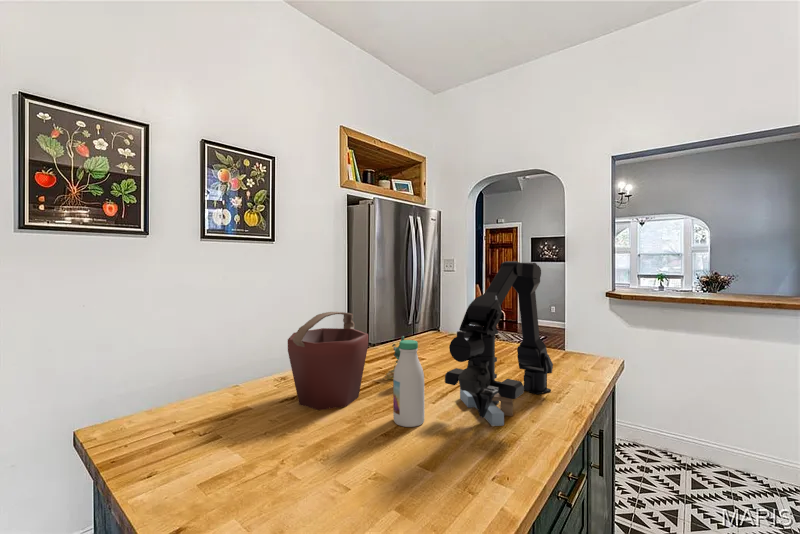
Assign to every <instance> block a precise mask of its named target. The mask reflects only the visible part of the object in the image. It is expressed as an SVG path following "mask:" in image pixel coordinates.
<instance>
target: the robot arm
mask: <svg viewBox="0 0 800 534" xmlns="http://www.w3.org/2000/svg"><path fill="white" fill-rule="evenodd" d="M541 277H542V268H541V266H539V265H538V263H536V262H520V261H517V260H516V261H514V260H513V261H512V260H511V261H510V260H509V261H507V260H505V261H503V262H501V263H500V266H499V270H498V272H496V275H495V276H494V278H493V280H491V282H490V284H489V285H488V287H487V289H486V291H485V292H483V294H480V295H479V296H477V297H475V298H474V299H473V300H472V301H471V303H469V305H468V307H467V308H466V311H465V313H464V316H463V319H462V321H461V323H460V325H459V330H458V331H456V336H455V337H453V338H452V340H451V341H450V344H449V353H450V356H451V357H452V359H454V360H455V361H456V362H459V363H464V362H467V366H466V368H465V369H462V368H457V367H455V368H453V369H451V370H449V371H447V372H446V373H445V375H444V383H445V384H447V385H451V386H456V385H457V384H459V390H460V389H461V390H463V391H467V392H469V393H470V394H471V395H472V396H473V399H474V401H475V403H476V406H477V409H478V410H477V409H476V410H477V411H478V414H479V417H480V418H484V417H485V415H486V412H487V410H488V408H489V405H490V403H491V401H492V399H493V397H494V395H496V394H497V393H499V394H500V396H501V397H505V398H509V399H513V400H517V398H519V397H520V396H521V395H523V394H524V393H525V391H526V392H529V393H531V394H533V395H540V394H544V393H550V392H552V389H550V388H549V387H548V375H549V374H552V373H553V369H554V363H553V362H552V359H551V356H550V355H549V354H548V349H547V345H546V343H545V342H544V341H543V340H542V339H541V337H540V329H539V318H538V306H537V305H538V304H537V297H536V295H537V294H536V290H537V289H538V287H539V285H540V283H541ZM512 287H513V289H514V290H515V292H516V293H517V297H518V306H519V315H520V316H519V317H520V328H521V334H522V340H521V342H520V344H519V346H517V347H516V348H517V349H516V352H517V362H518V367H519V370H524V373H523V383H522V381H521V380H518V379H517V380H516V379H510V378H506V379H505V380H502V381H499V380H496V379H498V378H497V377H498V374H497V373H496V371H495V369H496V368H495V367H496V364H495V363H497V362H498V357H496V354H495V351H496V348H495V347H496V335H498V334H499V330H498V329H497V328H496V327H497V326H498V324H499V323H500V321H501V317H502V314H503V311H502V307H501V306H502V304H503V302H504V300H505V299H506V298H507V295H508V294H509V291H510V290H511V289H512Z"/></svg>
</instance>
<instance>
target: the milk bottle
mask: <svg viewBox="0 0 800 534" xmlns="http://www.w3.org/2000/svg"><path fill="white" fill-rule="evenodd" d="M398 346H399V347H400V349H399V350H400V357H399V360H398V359H397V360H398V361H397V363H396V364H395V370H394V380H392V381H393V383H392V384H393V386H392V388H393V390H392V392H393V398H392V399H393V400H392V402H393V407H392V408H393V412H392V413H393V421H394V423H395V424H396V425H398V426H400V427H405V428H414V427H418V426H421V425H422V424H423V423H424V422H425V373H424V369H423V365H422V364H421V362H420V360H419V356H418V347H419V342H418V341H417V340H414V339H404V340H402V341H401V340H400V341H399V344H398Z"/></svg>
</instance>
